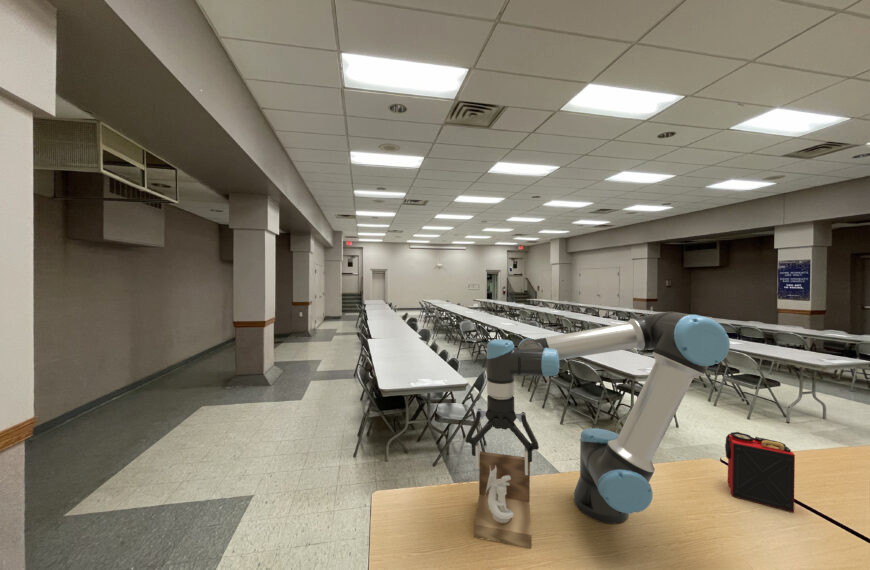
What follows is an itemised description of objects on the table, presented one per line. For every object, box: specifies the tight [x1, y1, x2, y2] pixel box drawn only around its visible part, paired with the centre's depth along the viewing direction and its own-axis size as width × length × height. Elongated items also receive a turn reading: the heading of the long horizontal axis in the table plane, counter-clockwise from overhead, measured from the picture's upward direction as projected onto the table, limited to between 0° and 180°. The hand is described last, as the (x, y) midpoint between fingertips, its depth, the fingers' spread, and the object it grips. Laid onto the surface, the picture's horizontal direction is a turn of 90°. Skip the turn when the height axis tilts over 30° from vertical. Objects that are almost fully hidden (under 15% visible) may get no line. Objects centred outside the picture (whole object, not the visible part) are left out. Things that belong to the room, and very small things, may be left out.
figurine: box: [485, 465, 514, 523], centre depth 94 cm, size 11×8×12 cm
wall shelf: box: [473, 451, 533, 549], centre depth 95 cm, size 15×15×16 cm
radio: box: [724, 431, 796, 513], centre depth 108 cm, size 16×10×20 cm, turn 58°
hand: (501, 469), depth 94 cm, fingers open, 13 cm apart
